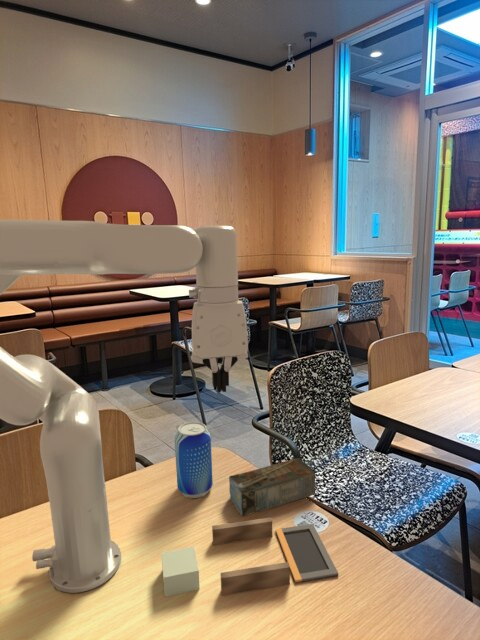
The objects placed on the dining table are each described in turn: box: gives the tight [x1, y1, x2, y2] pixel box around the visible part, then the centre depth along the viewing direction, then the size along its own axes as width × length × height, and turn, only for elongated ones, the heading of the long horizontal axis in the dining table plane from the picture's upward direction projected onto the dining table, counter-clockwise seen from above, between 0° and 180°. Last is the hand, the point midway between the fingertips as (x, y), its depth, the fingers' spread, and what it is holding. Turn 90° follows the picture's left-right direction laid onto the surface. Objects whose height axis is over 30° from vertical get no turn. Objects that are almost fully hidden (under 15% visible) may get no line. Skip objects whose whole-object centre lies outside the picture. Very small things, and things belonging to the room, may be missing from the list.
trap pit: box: [275, 523, 339, 584], centre depth 84 cm, size 8×13×1 cm, turn 10°
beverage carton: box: [228, 457, 316, 517], centre depth 101 cm, size 8×19×7 cm, turn 113°
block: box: [160, 545, 201, 597], centre depth 78 cm, size 6×6×4 cm
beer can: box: [174, 421, 214, 499], centre depth 103 cm, size 8×8×16 cm
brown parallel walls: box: [211, 517, 291, 596], centre depth 81 cm, size 12×13×4 cm
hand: (220, 389), depth 83 cm, fingers closed
